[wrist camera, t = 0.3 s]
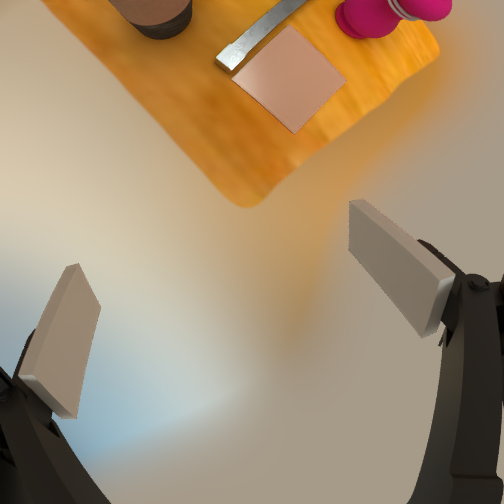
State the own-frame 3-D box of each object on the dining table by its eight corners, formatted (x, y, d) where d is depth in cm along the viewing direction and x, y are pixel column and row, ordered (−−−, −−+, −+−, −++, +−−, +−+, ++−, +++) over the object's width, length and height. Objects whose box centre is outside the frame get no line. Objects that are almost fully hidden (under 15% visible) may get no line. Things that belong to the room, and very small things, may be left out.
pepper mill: (321, 12, 30) (407, -34, 12) (353, -9, 28) (444, -50, 11) (354, 50, 33) (456, 34, 15) (384, 28, 31) (485, 10, 14)
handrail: (332, -37, 26) (346, -47, 22) (345, -26, 26) (359, -36, 23) (214, 62, 32) (215, 57, 28) (228, 74, 33) (231, 70, 29)
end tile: (288, 25, 30) (289, 24, 30) (345, 80, 35) (347, 80, 34) (231, 79, 33) (231, 79, 33) (293, 133, 38) (294, 134, 37)
